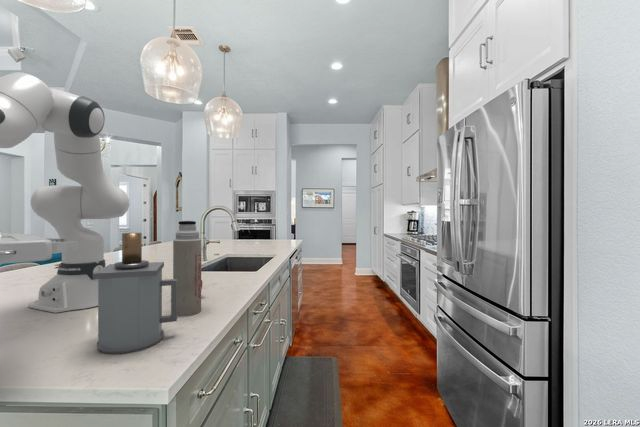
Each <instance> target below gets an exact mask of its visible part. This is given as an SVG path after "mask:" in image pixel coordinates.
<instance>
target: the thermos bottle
mask: <svg viewBox="0 0 640 427" xmlns="http://www.w3.org/2000/svg"><path fill="white" fill-rule="evenodd" d="M196 224H197V221H195V220H194V221H193V220H182V221H178V230H177V231H176V232H175V238H174V239H173V241H172V246H173V247H172V250H173V251H172V266H173V267H172V269H173V271H172V273H173V274H172V279H177V317H189V316H193V315H197V314H199V313H200V312H201V311H202V289H201V280H202V238H200V232H199V231H198V230H197V225H196Z"/></svg>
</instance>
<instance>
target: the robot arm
mask: <svg viewBox="0 0 640 427" xmlns="http://www.w3.org/2000/svg"><path fill="white" fill-rule="evenodd" d="M104 125H105V113H104V110H103V108H102V107H101V106H100V104H99V103H98V102H97V101H95V100H93V99H91V98H89V97H86V96H83V95H82V96H80V95H79V94H78V95H77V94H74V93H71V92H68V91H65V90H60V89H58V88H50V87H49V86H48V85H47V84H46V83H45V82H44V81H43V80H41V79H40V78H38V77H36V76H35V75H32V74H30V73H26V72H22V71H21V72H18V71H17V72H11V73H8V74H6V75H3V76H0V149H11V148H14V147H15V146H18V145H19V144H21V143H23V142H24V141H26V140H27V139H28V138H29V137H30V136H31V135H33V133H35V131H37V130H41V131H44V132H49V133H53V141H54V142H53V143H54V150H55V152H54V153H55V159H56V168H57V169H58V170H57V171H59V172H60V174H62V175H63V177H65V178H67V179H69V180H71V181H74V182H76V183H78V184H79V185H67V184H65V185H63V184H62V185H61V184H58V185H57V184H55V185H54V184H53V185H47V186H46V185H45V186H40V187H38V188H37V189H35V190H34V192H33V193H32V194H31V197H30V207H31V208H32V209H31V210H32V211H33V212H34V213H35V214H36V215H37V216H39V217H40V218H41V219H43V220H45V221H46V222H48V223H49V224H50V225H51V226H52V227H53V228H54V230H55V231H56V232H57V235H58V237H59V238H54V237H53V238H52V237H47V238H46V237H42V236H38V235H37V234H33V233H18V232H17V233H16V232H15V233H14V232H2V231H0V266H1V265H2V264H16V263H19V264H20V263H29V262H31V263H32V262H41V261H42V262H44V261H49V260H51V259H52V258H53V257H52V256H53V255H55V254H61V262H60V263H58V264H54V266H55V267H54V269H57V272H56V275H54V276H53V277H52V278H51V279H49V280H48V281H47V282H45V283H44V284H42V285H41V286H40V288H39V289H38V290H39V291H38V299H37V300H35V301H32V302H29V303H28V304H27V305H28V306H27V307H28V308H29V309H30V308H31V309H36V310H38V311H39V310H40V311H45V312H49V313H53V314H55V313H56V314H57V313H62V312H63V313H64V312H68V311H74V310H75V311H76V310H85V309H89V308H93V307H97V306H98V279H93V273H95V272H97V271H98V270H100V269H102V268H104V267H106V266H107V264H106V260H105V256H104V254H105V251H104V245H105V243H104V242H105V241H104V238H103V235H101V234H100V233H99V232H97V231H95V230H94V229H93V230H92V229H89V228H87V227H85V226H84V225H83V224H82V221H83V220H108V219H109V220H110V219H115V218H116V219H117V218H120V217H123V216H124V215H126V213H127V212H128V211H129V207H130V199H129V196H128V195H127V193H126V192H125V190H123V189H122V188H120V187H119V186H116V185H115V184H114V183H113V182H112V181H111V180H110V179H109V177H108V176H107V174H106V172H105V171H104V167H103V166H104V165H103V159H102V148H101V147H102V146H101V138H100V133H101V132H102V131H103V129H104Z"/></svg>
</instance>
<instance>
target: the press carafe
mask: <svg viewBox="0 0 640 427" xmlns="http://www.w3.org/2000/svg"><path fill="white" fill-rule="evenodd" d="M114 264H115V263H112V264H110V263H109V264H108V265H105V267H104V268H102V269H100V270H98V271H97V272H95V273H93V279H98V307H97V310H98V312H97V314H98V315H97V317H98V318H97V321H98V323H97V326H98V327H97V330H98V331H97V334H98V335H97V336H98V337H97V342H96V350H97V351H98V352H99V353H102V354H106V355H122V354H123V355H124V354H130V353H134V352H135V353H136V352H139V351H143V350H146V349H149V348H151V347H154V346H155V345H157V344H158V343H160V342H161V341H163V339H164V336H165V335H164V329H163V328H162V327H163V323H173V322H177V321H178V316H177V279H173V278H171V279H170V278H169V279H163V268H164V267H165V262H164V261H156V262H149V265H148V266H145V267H140V268H130V269H118V268H114ZM165 286H167V287H168V286H170V314H167V315H163V299H162V298H163V291H162V290H163V287H165Z"/></svg>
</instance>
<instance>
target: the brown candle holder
mask: <svg viewBox="0 0 640 427" xmlns="http://www.w3.org/2000/svg"><path fill="white" fill-rule="evenodd" d="M142 233H143V232H123V233H121V261H119V262H115V263H113V264H114V268H118V269H130V268H140V267H145V266H148V265H149V263H150V262H149V260H145V259H144V260H143V259H142V257H143V256H142V254H143V253H142V250H143V248H142V245H143V244H142V242H143V239H142V238H143V235H142Z"/></svg>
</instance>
